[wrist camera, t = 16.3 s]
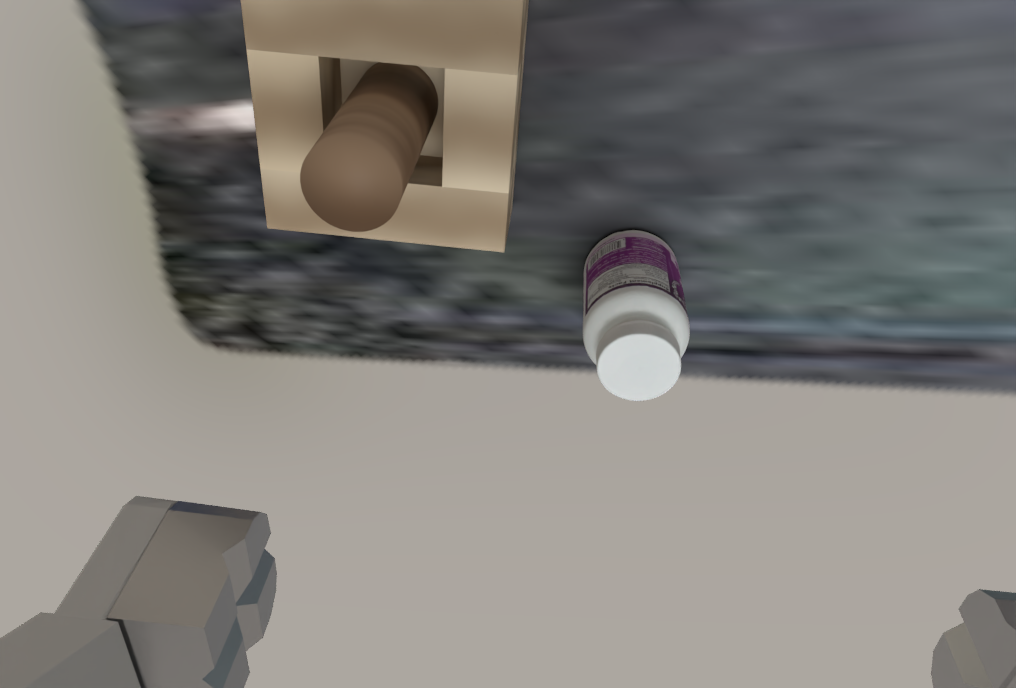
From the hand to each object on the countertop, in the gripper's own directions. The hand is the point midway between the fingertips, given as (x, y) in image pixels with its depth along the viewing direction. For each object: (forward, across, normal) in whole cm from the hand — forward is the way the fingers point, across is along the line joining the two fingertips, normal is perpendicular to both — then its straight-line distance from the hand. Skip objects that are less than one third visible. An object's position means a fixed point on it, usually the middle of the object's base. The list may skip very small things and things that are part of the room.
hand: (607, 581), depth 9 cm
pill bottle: (+34, -4, +15) cm, 38 cm away
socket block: (+34, +9, +6) cm, 36 cm away
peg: (+33, +9, +6) cm, 34 cm away
